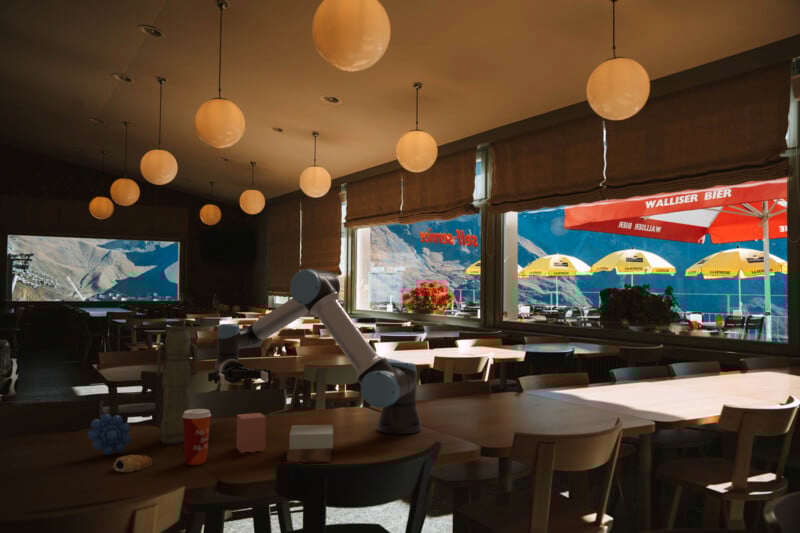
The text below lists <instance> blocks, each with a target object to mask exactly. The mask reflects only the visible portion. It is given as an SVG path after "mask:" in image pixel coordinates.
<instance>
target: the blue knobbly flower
mask: <svg viewBox="0 0 800 533" xmlns="http://www.w3.org/2000/svg"><path fill="white" fill-rule="evenodd" d="M90 426H91V428H92V429H90V430H88V432H87V437H88V439H89V440H90V441H92V444H91V445H92V448H93V449H94V450H96V451H101V450H102V452H103V454H104V455H106V456H111V455H112V454H113V453H114V451H115V452H116V453H122V452H124V450H125V445H128V444H129V443H131V440H132V437H131V435H130V434H129V433H130V431H131V426H130V424H129V423H127V422H124V419H123V417H122V416H121V415H119V414H115V415H113V416H112V415H111V414H109V413H106V412H105V413H103V414H101V416H100V419H98V418H94V419H93V420H91V423H90Z"/></svg>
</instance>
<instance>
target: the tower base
mask: <svg viewBox="0 0 800 533" xmlns="http://www.w3.org/2000/svg"><path fill="white" fill-rule="evenodd" d="M289 444H290V441H289V442H288V446H287V448H286V462H287V461H291V462H290V463H300V462H299V461H302V462H301V463H316V462H317V463H318V462H322V463H323V462H331V461H332V460H331V456H332V448H320V449H289Z"/></svg>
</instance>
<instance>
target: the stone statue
mask: <svg viewBox="0 0 800 533" xmlns="http://www.w3.org/2000/svg"><path fill="white" fill-rule="evenodd" d="M164 341H165V342H164V344H160V346H159V347H158V348H157V372H156V373H157V377H158V378H159V379H161V380H162V381H161V384H162V388H163V404H162V405H163V406H162V407H163V408H162V414H163V415H162V419H161V424H160V435H161V443H162V444H166V445H178V444H184V422H183V417H182V416H183V414H184V411H187V410H191V409H190V408H191V387H192V382H193V378H194V377H195V376H196V375H198V351H199V350H198V347H197V346H196V344H194V343H192V341H191V335H190V332H189V330H187V329H185V328H184V329H181V328H179V329H177V328H176V329H175V328H174V329H170V330H168V331H167V334H166V337H165V340H164ZM162 348H163V349H165V350H164V355H165V358H164V364H163V367H161V364H162V363H161V362H162V361H161V360H162V354H161V353H162ZM191 348H192V349H193V366H192V363H191V357H190V355H191ZM161 368H162V373H161Z"/></svg>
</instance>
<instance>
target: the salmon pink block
mask: <svg viewBox="0 0 800 533" xmlns="http://www.w3.org/2000/svg"><path fill="white" fill-rule="evenodd" d="M266 418H267V417H266V416H265V415H264V414H263V413H261V412H255V413H254V412H253V413H242V414H240V413H239V414H236V449H237V448H238V449H239V450H238V449H237V450H238V452H241V453H240V454H244V453H243V452H250V451H260V452H262V451H261V450H265V451H266V430H267V429H266V424H267V422H266V420H267V419H266Z"/></svg>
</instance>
